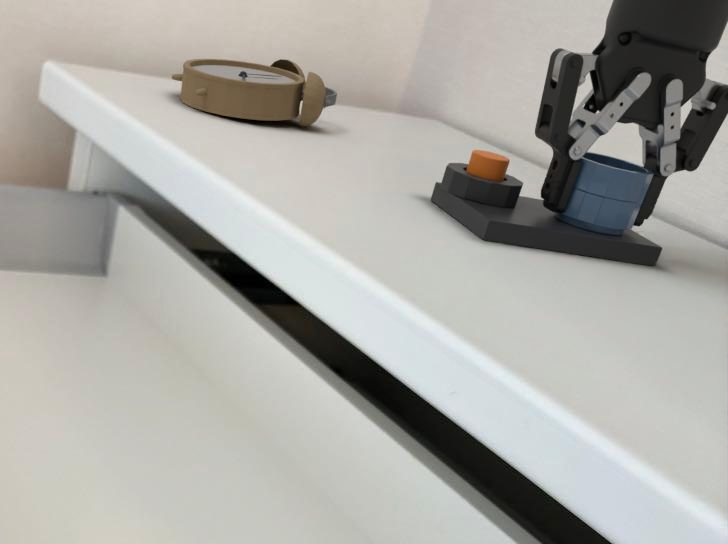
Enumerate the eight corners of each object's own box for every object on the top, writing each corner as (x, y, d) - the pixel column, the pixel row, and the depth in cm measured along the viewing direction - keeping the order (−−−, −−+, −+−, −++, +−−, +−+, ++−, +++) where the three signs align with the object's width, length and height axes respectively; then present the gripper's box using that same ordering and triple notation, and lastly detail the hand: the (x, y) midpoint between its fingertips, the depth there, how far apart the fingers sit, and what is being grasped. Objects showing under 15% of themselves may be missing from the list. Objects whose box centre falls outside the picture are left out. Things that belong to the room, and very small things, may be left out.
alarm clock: (165, 55, 103) (313, 50, 107) (164, 110, 106) (309, 103, 109) (202, 79, 94) (361, 73, 98) (200, 139, 97) (355, 130, 101)
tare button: (492, 177, 83) (500, 153, 82) (508, 186, 81) (516, 162, 80) (459, 171, 82) (466, 147, 81) (474, 181, 80) (482, 156, 79)
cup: (602, 217, 84) (625, 158, 82) (644, 241, 79) (669, 178, 77) (534, 206, 83) (556, 145, 80) (573, 230, 78) (597, 166, 75)
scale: (586, 224, 88) (600, 186, 87) (655, 266, 80) (672, 225, 78) (424, 198, 84) (436, 158, 83) (478, 239, 76) (493, 196, 74)
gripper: (623, -54, 67) (527, 217, 76) (813, -8, 71) (702, 246, 79) (565, -63, 74) (483, 188, 82) (743, -21, 77) (647, 216, 86)
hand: (591, 215), depth 81 cm, fingers closed on cup, 6 cm apart
